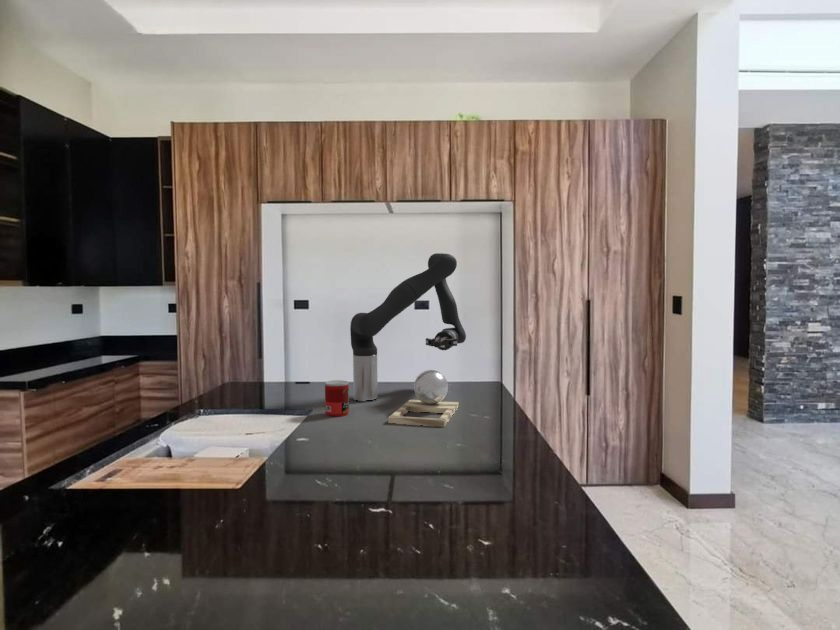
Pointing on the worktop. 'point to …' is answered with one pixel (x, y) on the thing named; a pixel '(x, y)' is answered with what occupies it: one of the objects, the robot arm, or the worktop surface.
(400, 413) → the hole board
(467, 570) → the worktop surface
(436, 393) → the ball
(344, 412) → the canned food
